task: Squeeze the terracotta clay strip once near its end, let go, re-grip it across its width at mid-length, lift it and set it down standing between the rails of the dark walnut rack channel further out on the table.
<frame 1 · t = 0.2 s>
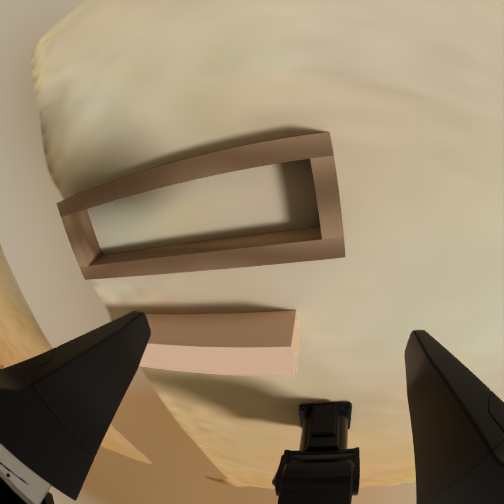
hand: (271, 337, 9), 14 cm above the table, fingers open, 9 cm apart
clay strip: (209, 326, 28), on the table
rack: (181, 212, 23), on the table
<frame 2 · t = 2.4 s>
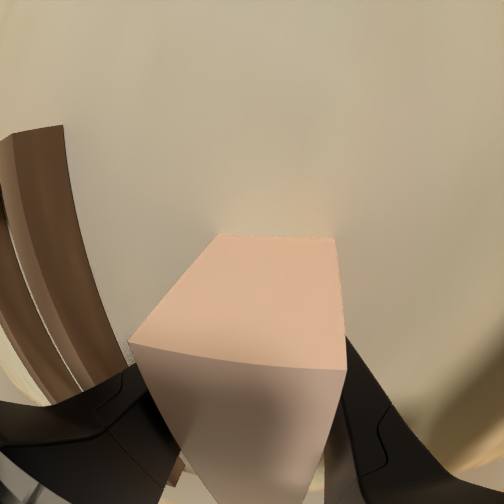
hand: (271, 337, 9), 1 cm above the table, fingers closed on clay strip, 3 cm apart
clay strip: (276, 413, 12), on the table, touching gripper
rack: (79, 356, 14), on the table
when the fingers open (1 cm above the table, at t = 3.3 s): clay strip stays where it is, on the table.
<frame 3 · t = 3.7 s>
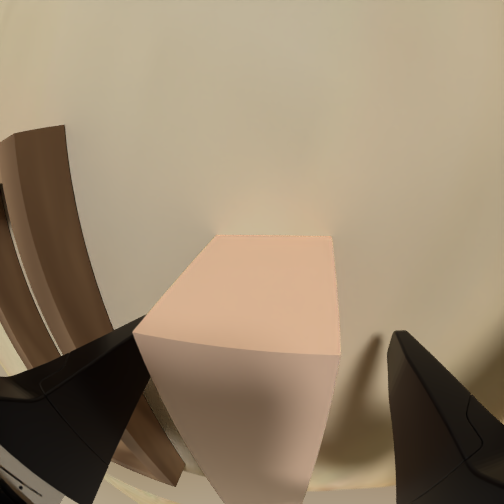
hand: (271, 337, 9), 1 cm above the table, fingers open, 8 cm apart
clay strip: (278, 408, 12), on the table
rack: (80, 356, 14), on the table
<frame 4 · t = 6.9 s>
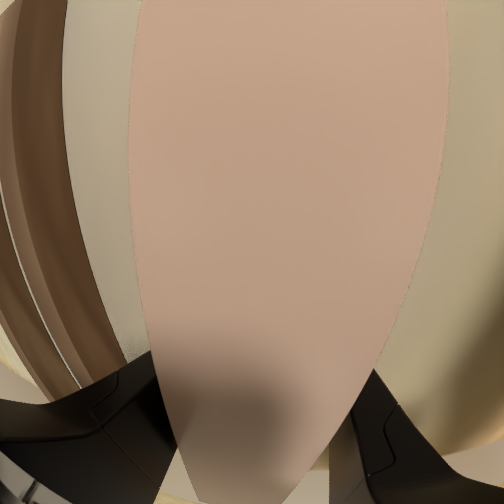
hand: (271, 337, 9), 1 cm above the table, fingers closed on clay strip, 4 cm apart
clay strip: (276, 316, 10), on the table, touching gripper
rack: (41, 270, 12), on the table
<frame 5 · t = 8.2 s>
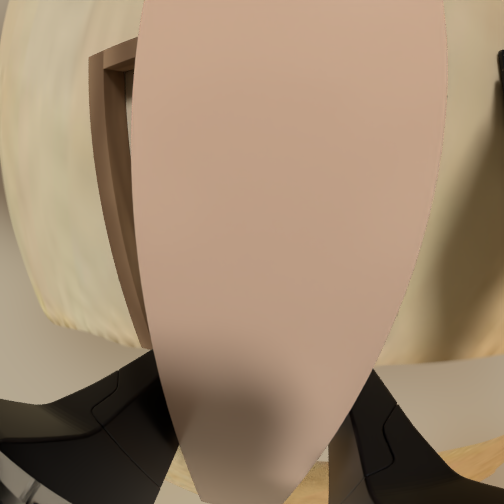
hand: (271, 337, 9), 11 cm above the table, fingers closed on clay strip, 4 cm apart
clay strip: (277, 316, 10), point 10 cm above the table, touching gripper
rack: (167, 207, 20), on the table
when the fingers open (2 cm above the table, at t = 11.9 s): clay strip stays where it is, resting on rack.
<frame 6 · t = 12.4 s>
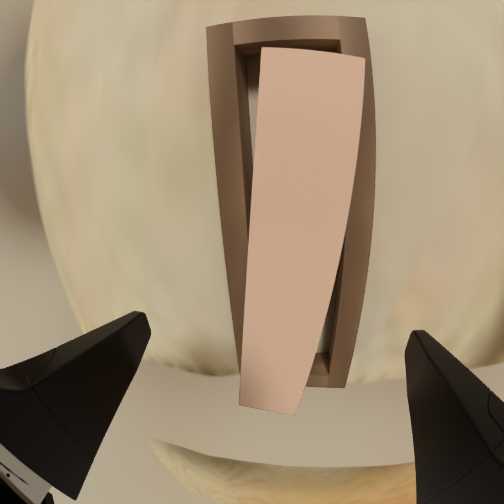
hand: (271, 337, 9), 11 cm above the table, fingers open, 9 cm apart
clay strip: (297, 241, 16), point 2 cm above the table, touching rack
rack: (298, 224, 18), on the table
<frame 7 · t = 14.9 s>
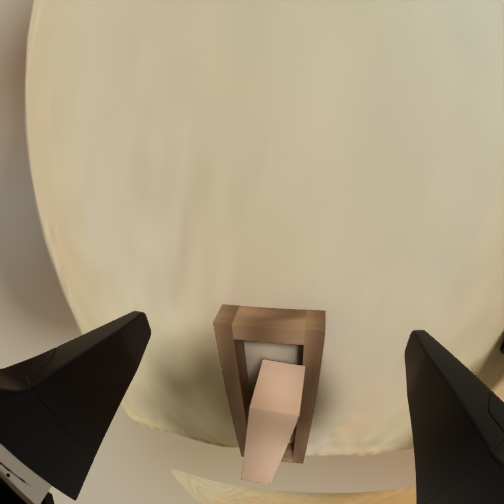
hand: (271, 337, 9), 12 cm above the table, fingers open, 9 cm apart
clay strip: (271, 417, 26), point 2 cm above the table, touching rack
rack: (274, 399, 28), on the table
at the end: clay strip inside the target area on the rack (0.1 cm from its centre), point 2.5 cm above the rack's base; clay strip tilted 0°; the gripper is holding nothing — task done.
